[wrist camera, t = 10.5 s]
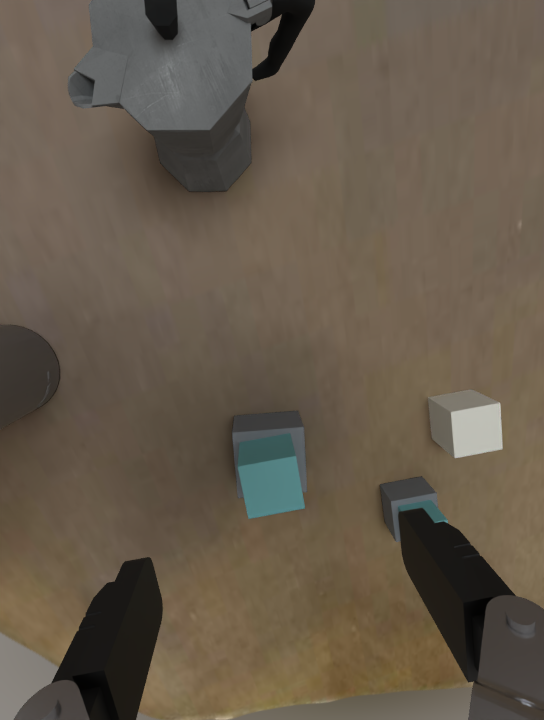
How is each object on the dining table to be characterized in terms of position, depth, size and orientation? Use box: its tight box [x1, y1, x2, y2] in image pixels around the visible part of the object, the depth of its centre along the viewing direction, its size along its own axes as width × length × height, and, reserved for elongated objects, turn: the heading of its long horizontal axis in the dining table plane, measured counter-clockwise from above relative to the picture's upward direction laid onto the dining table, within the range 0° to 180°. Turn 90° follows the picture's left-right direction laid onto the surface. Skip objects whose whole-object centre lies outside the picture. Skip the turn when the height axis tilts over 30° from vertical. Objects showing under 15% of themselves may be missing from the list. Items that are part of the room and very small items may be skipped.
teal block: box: [238, 433, 305, 519], centre depth 35 cm, size 5×5×5 cm
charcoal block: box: [232, 411, 307, 498], centre depth 39 cm, size 7×7×5 cm
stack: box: [380, 476, 448, 542], centre depth 41 cm, size 5×5×7 cm
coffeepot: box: [68, 0, 315, 192], centre depth 27 cm, size 15×9×18 cm, turn 114°
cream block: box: [428, 389, 503, 458], centre depth 40 cm, size 5×5×5 cm
